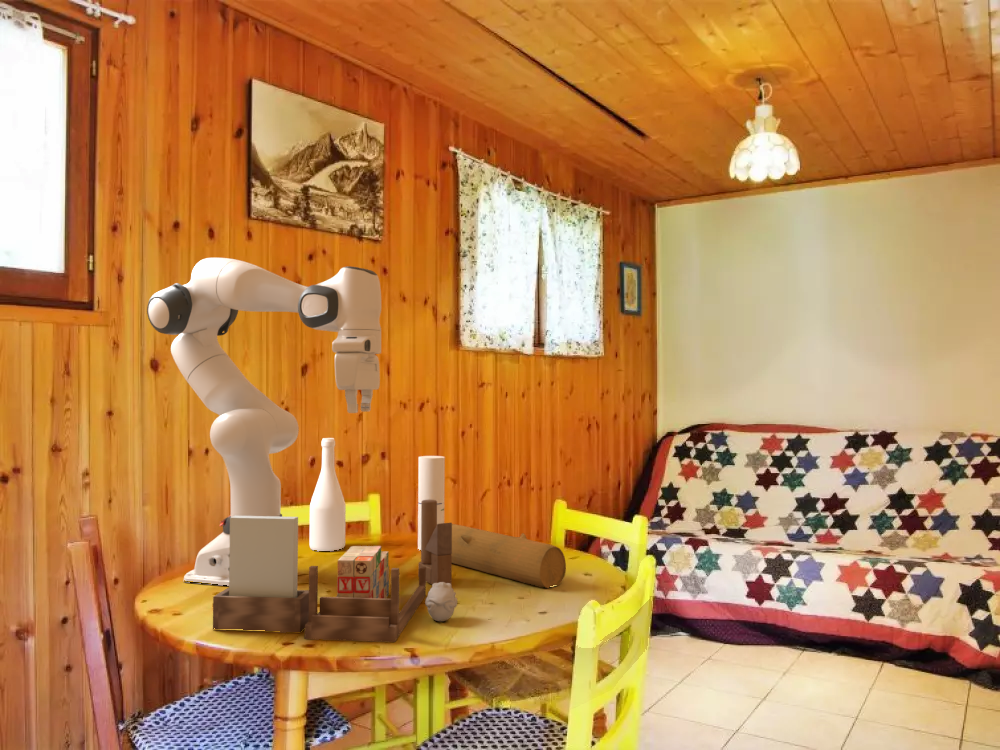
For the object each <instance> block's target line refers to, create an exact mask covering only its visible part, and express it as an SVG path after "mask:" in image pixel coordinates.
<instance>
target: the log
mask: <svg viewBox="0 0 1000 750" xmlns="http://www.w3.org/2000/svg"><path fill="white" fill-rule="evenodd" d="M451 555H452V564H454V565H458V566H460V567H461V566H462V567H465V568H468V569H472V570H476V571H480V572H483V573H487V574H491V575H493V576H498V577H502V578H505V579H509V580H512V581H516V582H520V583H524V584H526V585H530V584H531V585H530V586H534V585H535V587H538V586H539V588H542V587H545V588H544V589H550V588H549V587H550V586H553V585H558V586H560V585H561V583H562V582H563V581H564V578H565V576H566V572H567V568H566V567H567V565H566V564H567V563H566V558H565V554H564V553H563V550H562V549H561V548H560V547H558V546H555V545H553V544H549V543H545V542H539V541H537V540H536V541H535V540H532V539H528V538H527V536H526V534H525V533H521V534H520V536H517V537H516V536H512V535H506V534H503V533H499V532H495V531H494V532H493V531H489V530H484V529H479V528H474V527H470V526H466V525H461V524H460V525H459V524H456V523H455V524H454V523H452V554H451Z"/></svg>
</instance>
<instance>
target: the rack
mask: <svg viewBox="0 0 1000 750" xmlns="http://www.w3.org/2000/svg"><path fill="white" fill-rule="evenodd" d="M318 573H319V566H318V565H311V566H309V568H308V590H309V622H308V623H307V624H306V625H305V629H304V640H319V639H323V641H324V640H326V641H351V642H354V641H355V642H377V643H378V642H379V643H380V642H383V643H385V642H386V643H396V641H397V639H398V638H399V637H400V635H401V633H402V632H403V630H404V629H405V627H406V626H407V625H408V623H409V622H410V620H411V619H412V617H413V615H414V614H415V613H416V611H417V610H418V608H419V606H420V605H421V603H422V602H423V600H424V598H426V596H427V595H426V594H427V593H426V592H427V591H426V590H427V582H426V567H420V568H419V567H418V575H419V576H418V586H417V587H416V589H415V590H414V592H412V595H411V596H410V597H409V598H408V600H407V602H406V603H405V604H404V605H403V607H402V608H401V610H400V568H399V567H392V568H391V569H390V598H386V599H385V598H351V597H338V596H337V595H336V596H320V597H318V596H319V595H318V589H319V588H318V583H319V581H318V580H319V579H318V578H319V577H318V575H319V574H318ZM318 598H319V611H318Z"/></svg>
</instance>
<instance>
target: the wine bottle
mask: <svg viewBox="0 0 1000 750" xmlns="http://www.w3.org/2000/svg"><path fill="white" fill-rule="evenodd" d="M320 445H321V448H322V450H321V470H320V473H319V476H318V479H317V482H316V485H315V488H314V491H313V494H312V496H311V501H310V504H309V536H308V537H309V542H308V543H309V548H310V550H312V551H314V550H317V551H316V552H319V551H330V552H335V551H334V550H337V551H340V550H339V549H341V550H343V549H344V547H345V546H346V511H347V510H346V502H345V497H344V495H343V491H342V488H341V485H340V483H339V480H338V477H337V472H336V468H335V467H336V466H335V447H336V440H335V438H334V437H323V438H322V440H321V444H320ZM342 548H343V549H342Z"/></svg>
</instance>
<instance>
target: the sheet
mask: <svg viewBox="0 0 1000 750" xmlns="http://www.w3.org/2000/svg"><path fill="white" fill-rule="evenodd" d="M298 546H299V516H282V517H280V516H233V517H231V518H230V552H229V586H228V588H229V596H248V597H282V598H297V590H298V570H299V568H298V564H299V563H298V559H299V557H298V555H299V553H298V552H299V547H298Z"/></svg>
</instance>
